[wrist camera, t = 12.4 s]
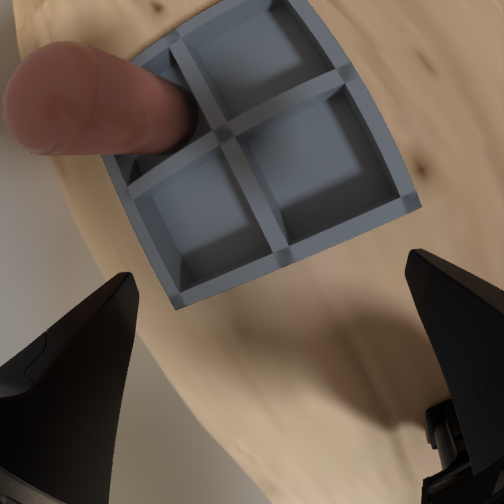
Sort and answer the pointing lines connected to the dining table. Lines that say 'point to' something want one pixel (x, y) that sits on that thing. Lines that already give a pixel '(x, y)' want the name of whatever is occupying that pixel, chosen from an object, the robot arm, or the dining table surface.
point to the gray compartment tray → (259, 151)
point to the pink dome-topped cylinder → (94, 105)
